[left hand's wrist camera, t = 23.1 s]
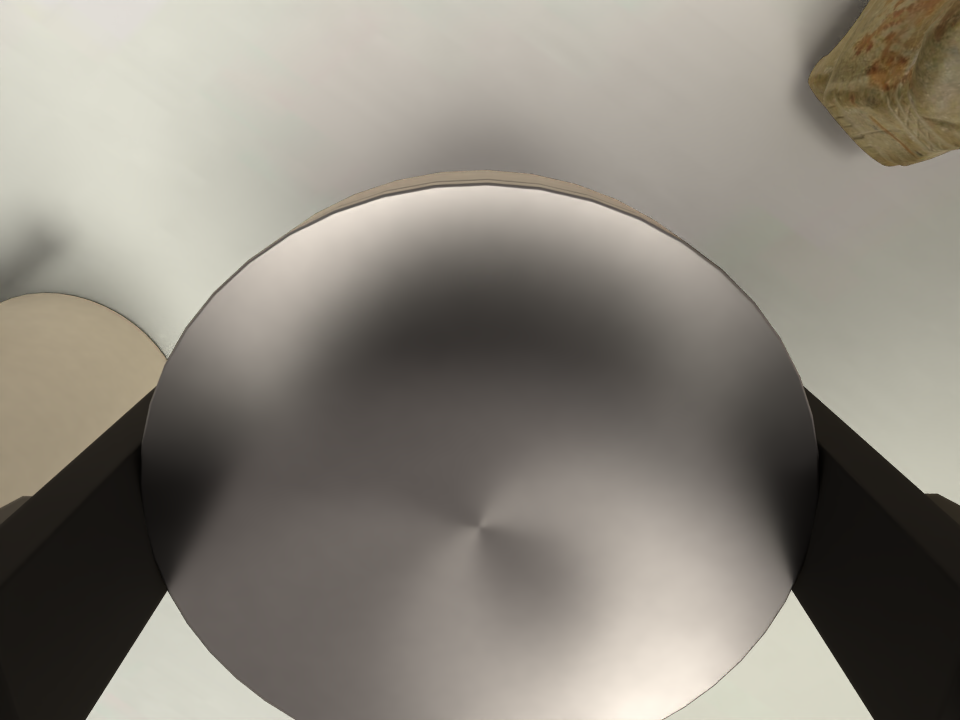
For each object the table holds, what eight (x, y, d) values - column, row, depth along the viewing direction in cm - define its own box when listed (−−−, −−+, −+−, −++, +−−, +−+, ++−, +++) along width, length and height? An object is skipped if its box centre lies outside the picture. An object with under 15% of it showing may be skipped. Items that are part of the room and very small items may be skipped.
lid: (342, 744, 15) (325, 825, 13) (66, 311, 11) (-5, 348, 9) (825, 602, 13) (874, 673, 12) (686, 57, 10) (727, 49, 8)
